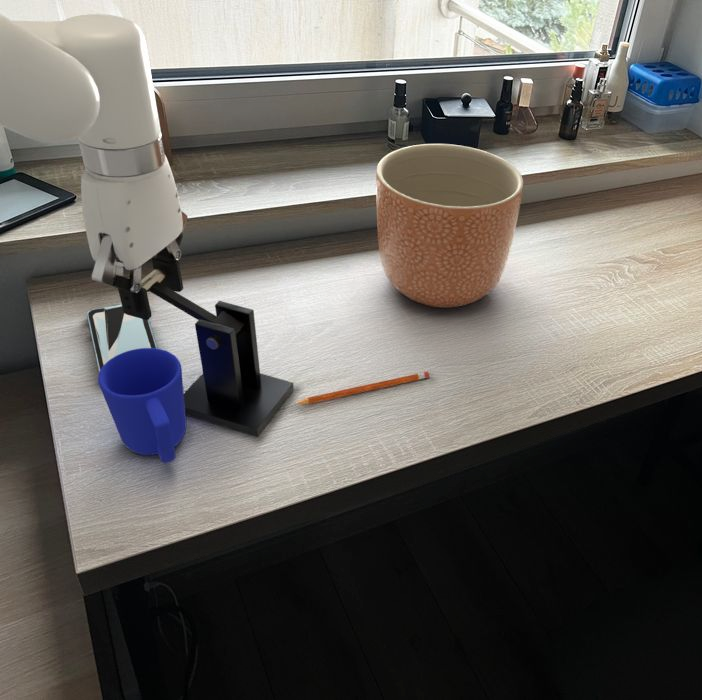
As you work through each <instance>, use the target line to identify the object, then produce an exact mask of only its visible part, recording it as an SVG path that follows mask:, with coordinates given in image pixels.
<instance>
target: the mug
mask: <svg viewBox="0 0 702 700" xmlns="http://www.w3.org/2000/svg"><path fill="white" fill-rule="evenodd" d="M97 383H98V386H99V388H100V390H101V393H102V395H103V398H104V401H105V403H106V406H107V408H108V410H109V412H110V415H111V418H112V420H113V423H114V426H115V427H116V430H117V432H118V435H119V437H120V439H121V441H122V443H123V444H124V446H125V447H127V449H129V450H130V451H131V452H133V453H136V454H139V455H143V456H144V455H146V456H151V455H159V456H158V457H159V459H160V461H161V463H163V464H168V463H171V462H173V461H175V459H176V451H175V447H176V446H177V445H179V443H180V442H181V441H182V440H183V438H184V436H185V433H186V429H187V417H186V416H187V415H185V404H184V393H185V391H184V380H183V370H182V364H181V361H180V360H179V358H178V357H177V356H176V355H175V354H173V353H172V352H171V351H168V350H165V349H161V348H158V349H156V348H140V349H134V350H130V351H126V352H124V353H121V354H119V355H117V356H115V357H113V358H112V359H110V360H109V361H108V362H107V363H106V364H105V365H104V366H103V367H102V368H101V370H100V372H99V371H98V376H97Z"/></svg>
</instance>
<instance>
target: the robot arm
mask: <svg viewBox="0 0 702 700" xmlns="http://www.w3.org/2000/svg"><path fill="white" fill-rule="evenodd" d="M143 33H144V32H142V29H141V28H140V27H139V26H138V25H137V24H136V23H135V22H134V21H132V20H131V19H128V18H125V17H121V16H117V15H112V14H102V13H101V14H99V13H96V14H94V13H93V14H92V13H91V14H81V15H76V16H71V17H69V18H66V19H63V20H58V21H53V20H52V21H37V20H36V21H33V20H32V21H31V20H11V19H9V18H7V17H6V16H4V15H3V14H1V13H0V126H1V127H2V128H5V129H7V130H9V131H11V132H13V133H16V134H18V135H20V136H22V137H25V138H27V139H30V140H31V141H36V142H39V143H45V144H64V143H69V142H73V141H75V140H77V141H78V145H79V150H80V153H81V157H82V161H83V165H84V169H85V172H83V173H82V174H81V176H80V194H81V195H80V197H81V208H82V215H83V222H84V223H83V224H84V228H85V233H86V239H87V243H88V247H89V251H90V255H91V258H92V260H93V261H94V265H93V270H92V273H91V280H92V281H94V282H97V283H101V284H104V285H108V286H110V287H113V288H116V289H117V290H118V295H119V300H120V304H122V308H123V311H124V313H125V314H127V315H130V316H133V317H137V318H141V319H144V320H148V319H149V320H151V318H152V310H151V306H150V300H149V296H148V294H147V291H146V289H145V288H143V287H141V280H142V265H144V264H145V263H146V262H148V261H149V260H151V263H152V267H153V271H154V270H155V269H156V268H158V267H162V268H164V269H165V270H166V271H167V273H168V278H167V279H165V280H164V281H163V282H162V283H161V284H163V285H165V286H166V287H168V288H170V289H171V290H173V291H175V292H176V293H180V292H182V291H183V290H184V283H183V278H182V272H181V266H180V261H179V260H180V259H181V257H182V251H181V248H180V247H181V243H182V241H183V237H184V235H183V233H184V230H185V229H186V225H187V222H188V220H189V218H188V215H187V214H186V213H185V212H184V211H182V207H181V202H180V197H179V193H178V189H177V185H176V180H175V178H174V174H173V171H172V168H171V166H170V163H169V160H168V158H167V156H166V154H165V153H166V152H165V148H164V142H163V141H164V140H163V135H162V130H161V124H160V118H159V113H158V107H157V106H158V105H157V101H156V95H155V89H154V83H153V77H152V71H151V65H150V60H149V53H148V47H147V43H146V39H145V35H144V34H143ZM124 269H125V270H126V271H129V278H128V277H125V276H124Z"/></svg>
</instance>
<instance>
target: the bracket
mask: <svg viewBox="0 0 702 700" xmlns="http://www.w3.org/2000/svg"><path fill="white" fill-rule="evenodd" d="M214 309H215V316H217V317H218V316H219V315H220V314H221V313H222V312H223V311H224V312H226V313H227V314H229V315H231V316H232V317H234V318H236V319H237V320H239V321H241V322H242V323H244V326H243V329H242V332H241V335H240V337H239V338H238V339H237V340H236V334H235V329H233V328H229V327H226V326H222V325H218V324H215V323H211V322H207V321H204V320H197V321H196V322H195V323H194V327H195V328H194V329H195V333H196V340H197V345H198V351H199V358H200V363H201V370H202V374H201V375H200V376H199V377H198V378H197V379H196V380H195V381H194V382H193V383H192V384H191V385H190V386H189V388H187V389H186V390H185V391H184V404H185V416H188V417H191V418H195V419H198V420H202V421H204V422H207V423H211V424H214V425H217V426H221V427H224V428H227V429H231V430H234V431H238V432H241V433H244V434H248V435H251V436H254V437H259V436H260V435H261V433H262V432H263V430H264V429H265V428H266V427H267V425H268V424H269V422H271V420H272V419H273V417H274V416H275V415H276V413H277V412H278V411H279V410H280V408H281V407H282V406H283V404H285V401H287V399H288V398H289V396H290V395H291V394H292V393H293V391H294V390H295V389H294V382H292V381H289V380H285V379H281V378H278V377H274V376H271V375H268V374H264V373H261V368H260V359H259V351H258V350H259V349H258V340H257V330H256V322H255V312H254V309H252V308H249V307H244V306H241V305H237V304H233V303H230V302H226V301H222V300H218V301H217V302H216V303H215V305H214Z"/></svg>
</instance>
